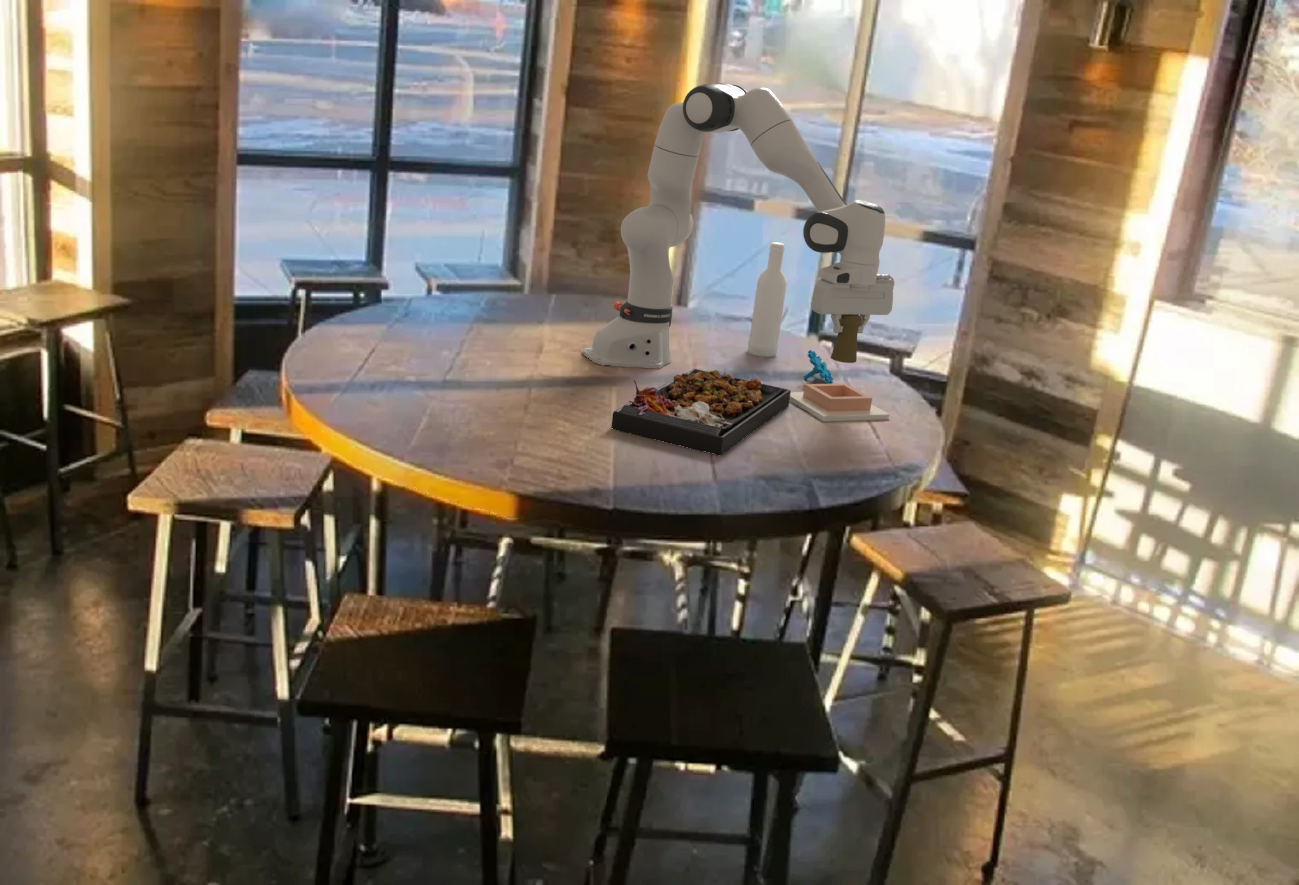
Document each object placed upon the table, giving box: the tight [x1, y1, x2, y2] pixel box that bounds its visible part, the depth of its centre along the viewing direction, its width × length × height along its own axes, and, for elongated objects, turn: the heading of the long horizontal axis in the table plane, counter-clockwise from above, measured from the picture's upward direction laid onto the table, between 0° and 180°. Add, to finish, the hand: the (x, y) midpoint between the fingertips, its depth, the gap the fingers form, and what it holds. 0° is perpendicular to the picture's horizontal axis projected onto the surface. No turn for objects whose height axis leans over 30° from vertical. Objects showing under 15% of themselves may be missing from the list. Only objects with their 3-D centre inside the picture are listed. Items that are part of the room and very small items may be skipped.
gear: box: [803, 349, 834, 384], centre depth 311 cm, size 11×6×10 cm
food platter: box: [610, 368, 792, 456], centre depth 270 cm, size 45×25×10 cm, turn 156°
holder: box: [789, 383, 891, 422], centre depth 288 cm, size 18×18×4 cm
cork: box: [830, 314, 861, 364], centre depth 283 cm, size 6×6×11 cm
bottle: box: [747, 241, 788, 358], centre depth 327 cm, size 8×8×30 cm
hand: (847, 332), depth 283 cm, fingers closed on cork, 4 cm apart
